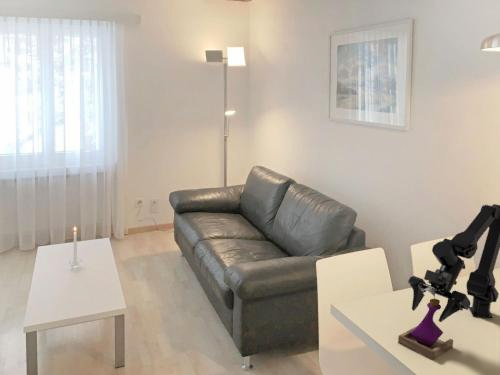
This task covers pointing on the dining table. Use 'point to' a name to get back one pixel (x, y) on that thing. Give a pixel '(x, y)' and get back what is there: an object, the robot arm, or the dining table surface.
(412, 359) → the dining table surface
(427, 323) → the perfume bottle
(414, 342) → the wooden tray
